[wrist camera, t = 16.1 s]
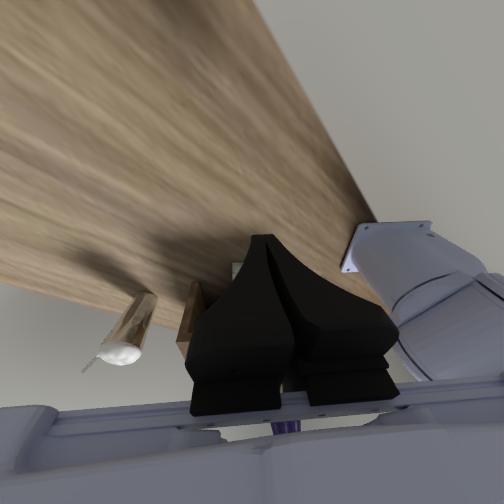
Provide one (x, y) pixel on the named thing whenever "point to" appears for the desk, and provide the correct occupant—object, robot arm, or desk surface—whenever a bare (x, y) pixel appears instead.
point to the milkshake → (128, 332)
